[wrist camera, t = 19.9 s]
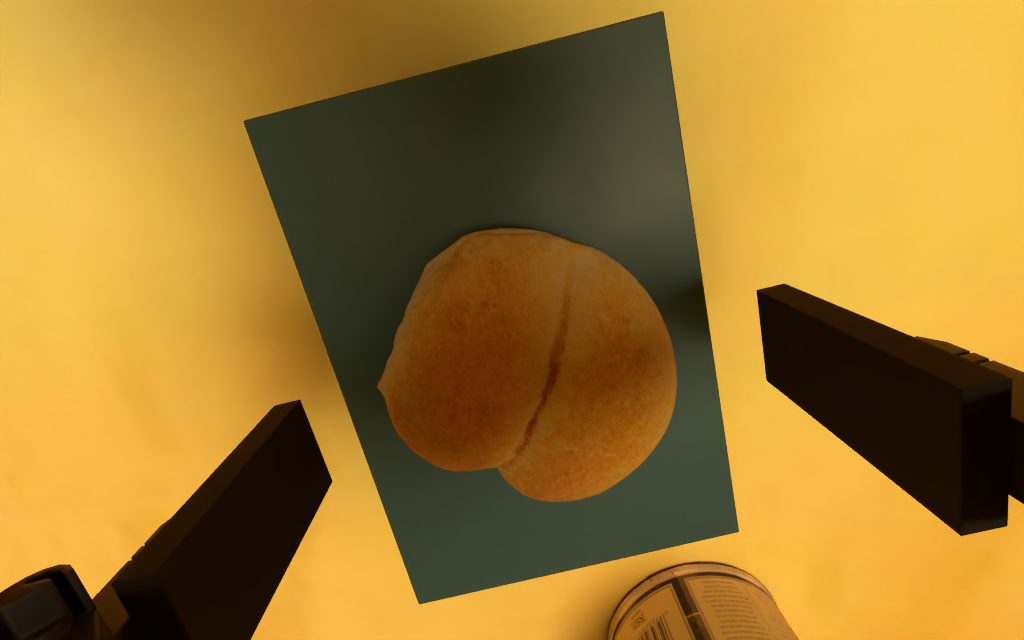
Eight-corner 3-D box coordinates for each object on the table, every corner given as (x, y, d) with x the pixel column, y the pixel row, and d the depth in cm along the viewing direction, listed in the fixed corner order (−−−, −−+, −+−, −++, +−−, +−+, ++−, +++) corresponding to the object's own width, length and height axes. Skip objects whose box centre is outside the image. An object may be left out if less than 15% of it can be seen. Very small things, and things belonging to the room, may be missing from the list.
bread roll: (600, 497, 19) (626, 578, 15) (366, 412, 18) (332, 478, 14) (709, 295, 17) (770, 331, 13) (454, 184, 16) (442, 189, 12)
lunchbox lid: (254, 123, 16) (242, 120, 15) (655, 18, 16) (663, 10, 15) (421, 589, 21) (418, 605, 20) (730, 518, 21) (739, 532, 20)
